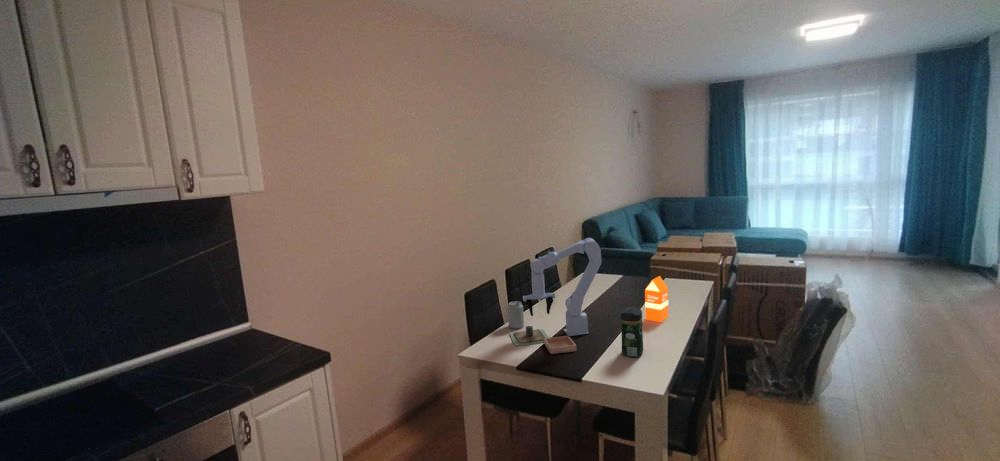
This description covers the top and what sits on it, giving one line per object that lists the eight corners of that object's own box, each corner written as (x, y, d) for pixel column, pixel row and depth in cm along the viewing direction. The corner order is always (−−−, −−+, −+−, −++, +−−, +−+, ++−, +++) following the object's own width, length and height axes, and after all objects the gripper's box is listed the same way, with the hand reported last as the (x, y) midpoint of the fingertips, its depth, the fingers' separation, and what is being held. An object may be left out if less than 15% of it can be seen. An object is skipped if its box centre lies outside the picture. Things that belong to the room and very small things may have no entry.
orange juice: (668, 316, 217) (668, 276, 214) (660, 322, 211) (660, 280, 208) (653, 313, 222) (652, 274, 219) (645, 319, 216) (644, 278, 213)
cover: (538, 330, 209) (538, 320, 208) (546, 340, 197) (545, 329, 197) (513, 334, 207) (513, 324, 206) (520, 344, 195) (519, 333, 194)
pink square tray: (568, 340, 196) (568, 335, 196) (576, 350, 186) (576, 345, 185) (544, 344, 195) (543, 338, 194) (550, 354, 184) (550, 348, 184)
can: (523, 329, 213) (521, 305, 212) (507, 329, 215) (505, 305, 213) (525, 323, 221) (523, 300, 219) (510, 323, 222) (508, 300, 220)
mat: (543, 330, 210) (543, 329, 210) (551, 341, 197) (550, 340, 197) (509, 334, 208) (509, 333, 208) (515, 346, 195) (515, 345, 194)
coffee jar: (625, 346, 186) (624, 304, 184) (645, 349, 182) (644, 305, 180) (619, 356, 178) (618, 311, 175) (639, 359, 174) (638, 313, 171)
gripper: (524, 289, 198) (526, 319, 200) (556, 286, 200) (557, 315, 202) (521, 285, 205) (523, 314, 207) (552, 282, 207) (553, 310, 209)
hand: (539, 314), depth 205 cm, fingers open, 7 cm apart
